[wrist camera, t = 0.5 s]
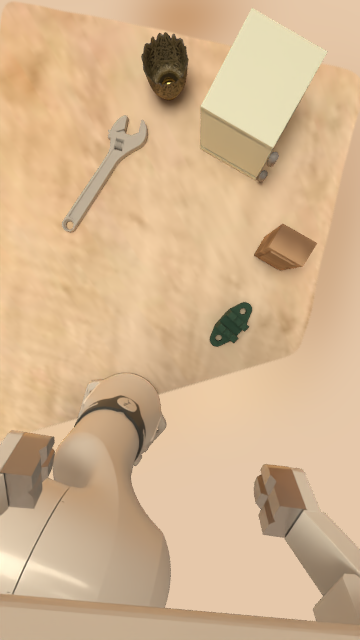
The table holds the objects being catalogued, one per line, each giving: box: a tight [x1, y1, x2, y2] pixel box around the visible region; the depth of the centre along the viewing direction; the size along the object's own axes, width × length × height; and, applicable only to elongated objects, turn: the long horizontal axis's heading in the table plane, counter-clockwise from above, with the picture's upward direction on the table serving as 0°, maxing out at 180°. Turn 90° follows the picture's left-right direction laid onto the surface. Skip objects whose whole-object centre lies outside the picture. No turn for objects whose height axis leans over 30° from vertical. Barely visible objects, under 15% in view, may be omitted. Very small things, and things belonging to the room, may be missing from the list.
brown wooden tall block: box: [254, 224, 317, 270], centre depth 50 cm, size 4×6×12 cm
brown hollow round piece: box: [141, 32, 188, 100], centre depth 49 cm, size 8×7×8 cm
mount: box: [210, 302, 252, 347], centre depth 55 cm, size 11×4×5 cm, turn 139°
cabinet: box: [200, 8, 327, 182], centre depth 47 cm, size 15×13×13 cm
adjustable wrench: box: [62, 115, 148, 232], centre depth 55 cm, size 25×6×2 cm, turn 138°
